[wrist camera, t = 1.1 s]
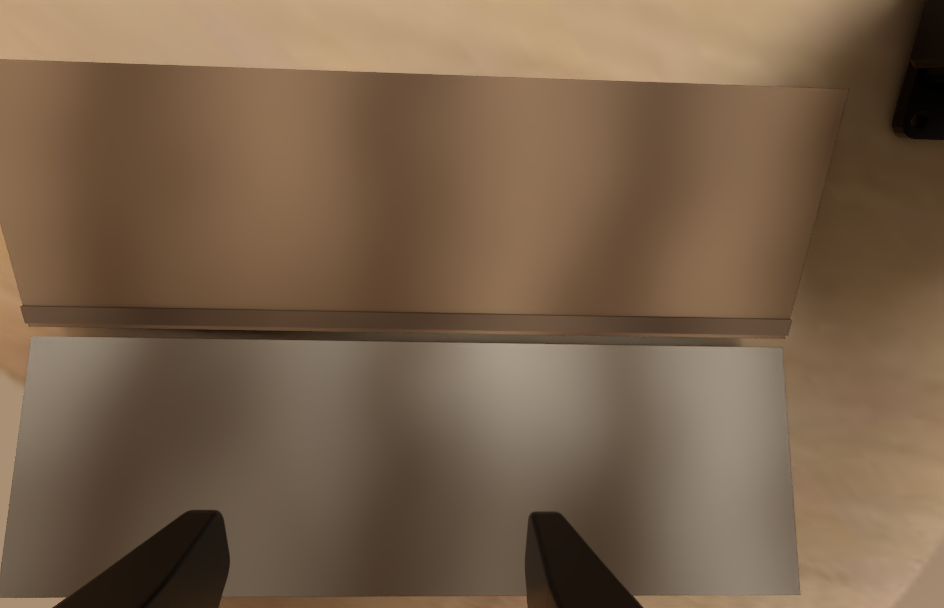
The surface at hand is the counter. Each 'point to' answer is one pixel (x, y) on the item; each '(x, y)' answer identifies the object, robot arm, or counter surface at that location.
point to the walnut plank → (407, 200)
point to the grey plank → (404, 463)
